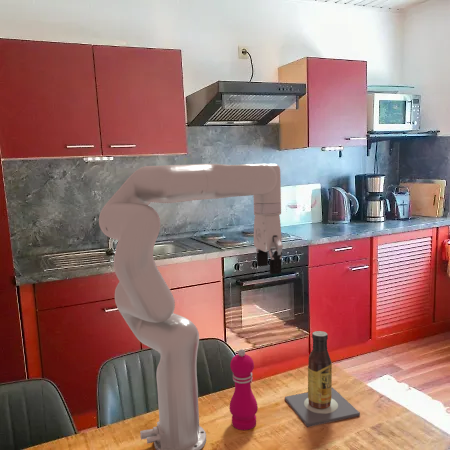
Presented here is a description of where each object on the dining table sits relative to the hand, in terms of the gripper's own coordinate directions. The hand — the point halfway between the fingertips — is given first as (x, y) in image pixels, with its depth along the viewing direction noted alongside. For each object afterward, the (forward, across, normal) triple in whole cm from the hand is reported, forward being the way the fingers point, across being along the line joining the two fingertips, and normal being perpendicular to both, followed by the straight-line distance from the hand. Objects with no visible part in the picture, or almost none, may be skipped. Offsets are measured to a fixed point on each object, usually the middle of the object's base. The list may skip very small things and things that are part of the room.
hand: (268, 269), depth 126 cm
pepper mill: (+36, +13, -13) cm, 41 cm away
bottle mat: (+36, +13, +9) cm, 40 cm away
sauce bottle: (+36, +13, +9) cm, 39 cm away
